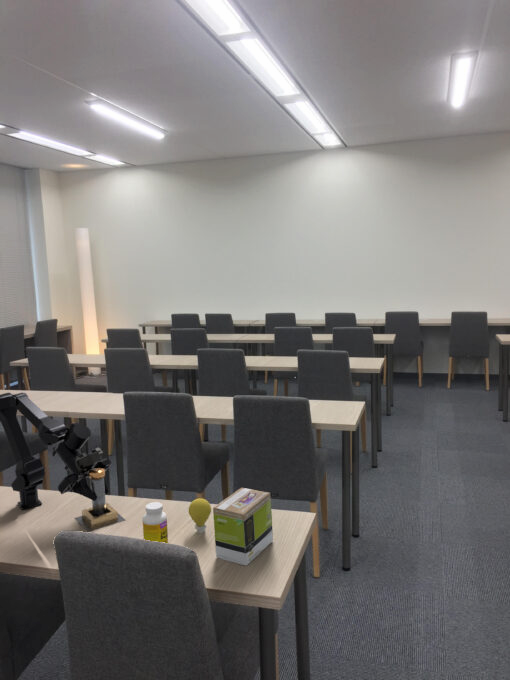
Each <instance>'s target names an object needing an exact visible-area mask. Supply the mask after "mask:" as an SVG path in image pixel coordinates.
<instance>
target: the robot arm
mask: <svg viewBox="0 0 510 680" xmlns="http://www.w3.org/2000/svg"><path fill="white" fill-rule="evenodd" d="M18 412H19V413H20V414H22V416H24V417H25V418H26V420H28V421H29V423H30V424H32V425H33V426H34V427H35V428H36V430H37V433H38V437H39V438H40V439H41V440H42V442H43V443H44V444H45V445H46V446H49V447H50V446H53V448H52V453H51V454H52V455H51V456H52V457H56V456H58V457H59V458H60V459H61V461H62V462H63V463H64V465H65V466H64V470H65V471H68V470H69V472H70V473H71V474H69V475H67V476H65V477H64V478H63V479H62V480H61V481H60V483H59V484H58V486H57V490H58V492H59V493H60V494H61V495H64V494H66V493H68V492H70V493H75V494H78V495H80V496H83V497H85V498H87V499H89V500H91V501H92V500H93V501H95V500H96V499H97V498H96V497H95V495H94V493H93V492H92V490H91V487H89V485H88V483H87V482H88V481H87V478H89V471H90V470H92V469H96V468H102V469H105V472H106V471H108V469H109V468H110V467H111V465H112V464H113V463H112V461H111V460H110V459H109V458H106V457H105V458H103V459H102V457H103V456H104V452H103V450H102V449H101V448H100V447H96V448H93V449H92V450H91V453H90V454H89V453H88V454H87V453H86V452H82V453H81V451H80V449H82V447H83V446H84V445H85V443H86V442H87V441H88V440H89V438H90V437H91V435H92V432H91V429H89V427H87V426H85V425H84V424H80V423H79V422H78V421H76V422H73V423H71V424H70V426H66V425H65V424H64V423H63V422H61V421H60V420H58V419H54V418H51V417H49V416H48V415H47V414H46V413H45V412H44V411H43V410H42V409H41V408H40V407H39V406H38V405H37V404H35V402H34V401H32V400H31V399H30V398H29V395H28V394H27V393H26V392H19V393H15V394H14V393H11V392H5V393H0V423H1V425H2V429H3V430H4V433H5V435H6V438H7V440H8V442H9V446H10V447H11V450H12V453H13V455H14V458H15V461H16V465H15V469H14V472H15V473H14V474H15V476H16V478H15V479H14V480H13V482H12V483H11V488H12V489H11V490H12V491H14V492H19V493H18V494H19V501H18V502H17V505H18V507H19V508H20V510H22V511H23V510H24V511H25V510H26V509H30V508H33V507H34V508H35V507H38V506H41V505H42V504H43V503H42V501H41V500H40V499H39V491H38V486H39V485H43V484H44V479H45V476H46V471H45V469H46V468H45V467H44V464H43V462H42V459H41V458H40V457H38V458H36V457H34V455H32V452H31V450H30V447H29V445H28V442H27V440H26V438H25V435H24V432H23V429H22V427H21V424H20V421H19V420H18V417H17V414H18ZM56 444H57V445H56ZM54 445H56V446H55V447H54ZM105 476H106V475H105ZM105 476H104V486H105V495H108V494H109V493H110V492H109V487H108V484H107V481H106V477H105ZM70 487H71V490H70Z"/></svg>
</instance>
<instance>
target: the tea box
mask: <svg viewBox="0 0 510 680" xmlns="http://www.w3.org/2000/svg"><path fill="white" fill-rule="evenodd" d="M271 495H272V494H271V492H268V491H263V490H261V491H260V490H255V489H251V488H245V487H240V488H239V489H237V490H236V491H235V492H233V493H232V494H231V495H229V496H228V497H226V498H224V499H223V500H222V501H221V502H219V503H218V504H216V505H215V506H213V507H212V508H213V511H212V513H213V527H214V528H213V529H214V540H215V541H214V543H215V545H214V546H215V557H216V558H218V559H220V560H224V561H227V562H230V563H233V564H234V563H235V564H238V565H242V566H247V565H249V564H250V563H251V562H252V561H253V560H254V559H255V558H257V557H258V555H260V554H261V553H262V552H263V550H265V549H266V548H268V546H269V545H270V544H271V543H272V542H273V541H274V533H273V532H274V531H273V514H272V500H271V499H272V498H271V497H272V496H271Z"/></svg>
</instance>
